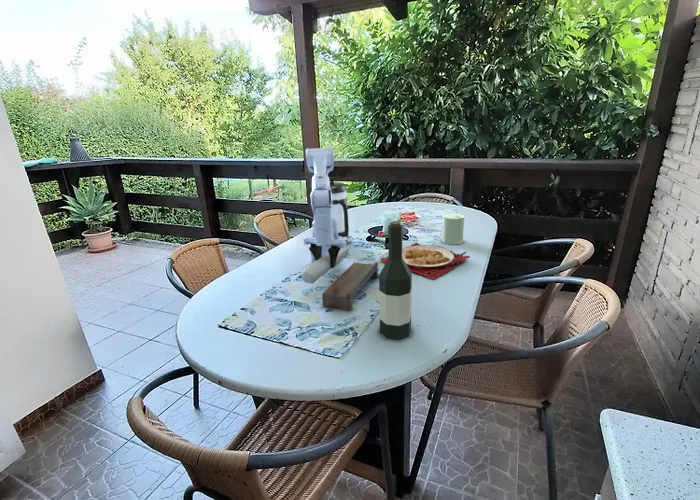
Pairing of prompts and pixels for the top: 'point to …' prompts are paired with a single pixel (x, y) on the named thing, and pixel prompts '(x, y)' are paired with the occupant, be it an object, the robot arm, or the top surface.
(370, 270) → the wooden display stand
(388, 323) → the wine bottle
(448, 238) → the can
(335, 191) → the coffee press
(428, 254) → the plate with food
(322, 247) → the robot arm
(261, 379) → the top surface
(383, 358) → the top surface
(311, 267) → the tube
